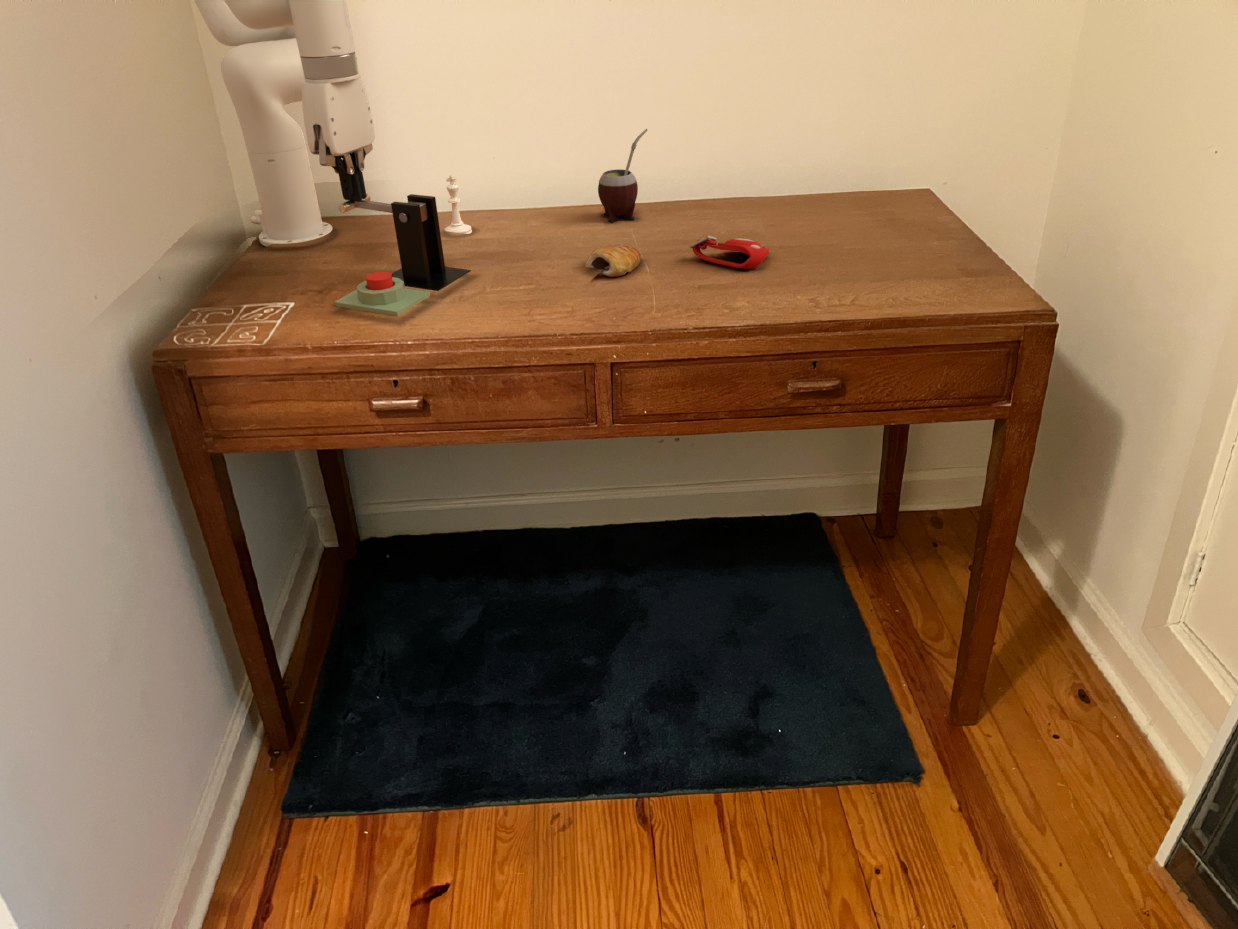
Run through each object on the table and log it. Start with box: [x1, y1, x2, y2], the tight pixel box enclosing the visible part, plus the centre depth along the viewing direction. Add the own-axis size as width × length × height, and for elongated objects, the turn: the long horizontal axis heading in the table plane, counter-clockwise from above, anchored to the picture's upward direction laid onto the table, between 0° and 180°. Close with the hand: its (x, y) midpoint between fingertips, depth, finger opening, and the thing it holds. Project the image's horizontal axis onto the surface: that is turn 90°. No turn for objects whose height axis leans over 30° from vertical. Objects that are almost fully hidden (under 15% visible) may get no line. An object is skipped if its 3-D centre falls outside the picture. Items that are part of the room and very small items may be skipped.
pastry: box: [584, 244, 641, 278], centre depth 142 cm, size 9×7×4 cm
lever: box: [338, 193, 428, 222], centre depth 136 cm, size 13×6×2 cm, turn 66°
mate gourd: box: [597, 128, 648, 224], centre depth 162 cm, size 8×8×15 cm
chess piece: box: [443, 174, 473, 235], centre depth 159 cm, size 5×5×10 cm
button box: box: [333, 277, 431, 317], centre depth 132 cm, size 11×8×4 cm
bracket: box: [390, 193, 472, 292], centre depth 137 cm, size 11×9×13 cm
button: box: [365, 271, 393, 290], centre depth 130 cm, size 4×4×2 cm
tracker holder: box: [688, 235, 770, 270], centre depth 143 cm, size 12×4×10 cm
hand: (355, 198), depth 138 cm, fingers closed
